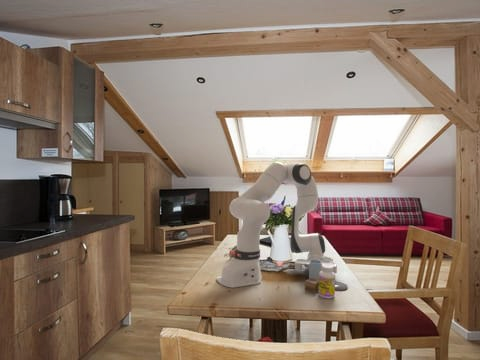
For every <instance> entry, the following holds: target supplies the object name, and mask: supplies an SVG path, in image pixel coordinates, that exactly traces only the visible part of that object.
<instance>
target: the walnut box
mask: <svg viewBox="0 0 480 360" xmlns="http://www.w3.org/2000/svg"><path fill="white" fill-rule="evenodd" d="M304 290H306V291H308V292H312V293H317V292H319V280H316V279H313V278H310V279H309V278H307V279H305V281H304Z"/></svg>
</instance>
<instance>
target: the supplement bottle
mask: <svg viewBox="0 0 480 360" xmlns="http://www.w3.org/2000/svg"><path fill="white" fill-rule="evenodd" d="M335 281H336V273H334V272H333V266H331V265H322V271H320V273H319V291H318V295H319V297H321V298H323V299H327V300H328V299H333V298H335V294H336V293H335V292H336V290H335Z"/></svg>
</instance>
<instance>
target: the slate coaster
mask: <svg viewBox="0 0 480 360" xmlns="http://www.w3.org/2000/svg"><path fill="white" fill-rule="evenodd" d="M348 288H349V287H348V284H346V283H344V282H341V281H336V280H335V292H336V291H340V292H343V291H346V290H348Z"/></svg>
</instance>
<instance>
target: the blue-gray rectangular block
mask: <svg viewBox="0 0 480 360" xmlns="http://www.w3.org/2000/svg"><path fill="white" fill-rule="evenodd" d="M320 271H322V260H312V259H310V262H309V271H308V279H310V278H313V279H316V280H319V273H320Z"/></svg>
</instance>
